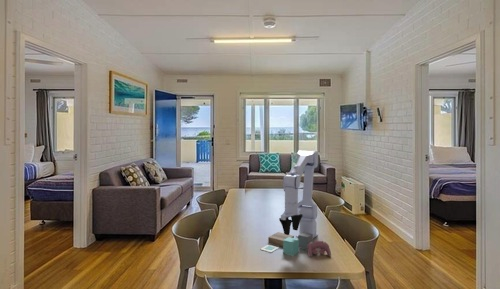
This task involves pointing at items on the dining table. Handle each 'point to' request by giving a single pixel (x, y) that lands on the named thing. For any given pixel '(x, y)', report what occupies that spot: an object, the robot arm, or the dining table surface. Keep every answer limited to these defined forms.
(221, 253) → the dining table surface
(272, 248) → the card
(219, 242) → the dining table surface
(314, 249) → the pink arch
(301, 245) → the charcoal block
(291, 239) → the teal block
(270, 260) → the dining table surface
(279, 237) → the walnut base
